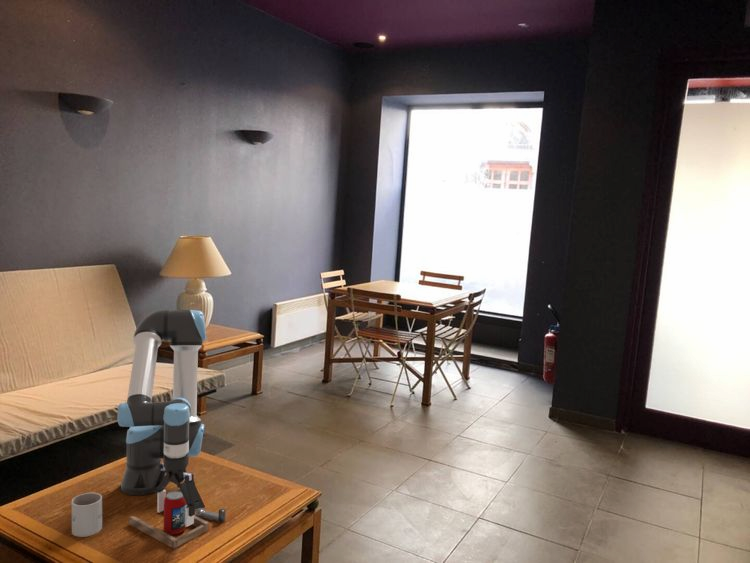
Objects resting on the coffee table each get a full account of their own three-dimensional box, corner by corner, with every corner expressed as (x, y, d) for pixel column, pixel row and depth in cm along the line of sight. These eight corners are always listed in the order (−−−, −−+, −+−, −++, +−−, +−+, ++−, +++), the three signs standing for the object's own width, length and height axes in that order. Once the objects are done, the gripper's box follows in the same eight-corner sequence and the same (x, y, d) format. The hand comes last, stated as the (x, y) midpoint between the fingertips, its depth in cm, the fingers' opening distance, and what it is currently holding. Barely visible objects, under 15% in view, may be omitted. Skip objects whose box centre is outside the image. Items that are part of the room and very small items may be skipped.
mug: (97, 536, 181) (97, 505, 180) (67, 537, 179) (67, 506, 178) (108, 515, 193) (108, 486, 192) (80, 516, 191) (80, 487, 190)
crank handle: (194, 516, 195) (194, 506, 195) (199, 512, 198) (199, 502, 197) (222, 523, 192) (222, 512, 191) (227, 519, 194) (227, 509, 194)
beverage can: (179, 537, 182) (179, 501, 181) (159, 534, 184) (159, 497, 182) (190, 526, 189) (190, 491, 187) (171, 523, 190) (171, 488, 189)
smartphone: (184, 514, 197) (184, 511, 197) (175, 492, 211) (175, 489, 211) (207, 509, 201) (207, 507, 201) (196, 488, 215) (196, 486, 215)
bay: (129, 524, 188) (129, 517, 188) (164, 508, 199) (164, 501, 199) (173, 548, 176) (174, 540, 176) (208, 529, 187) (208, 522, 187)
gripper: (140, 447, 187) (140, 509, 189) (193, 468, 173) (191, 536, 176) (160, 440, 193) (160, 500, 196) (212, 460, 180) (211, 525, 182)
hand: (175, 517), depth 186 cm, fingers open, 13 cm apart
